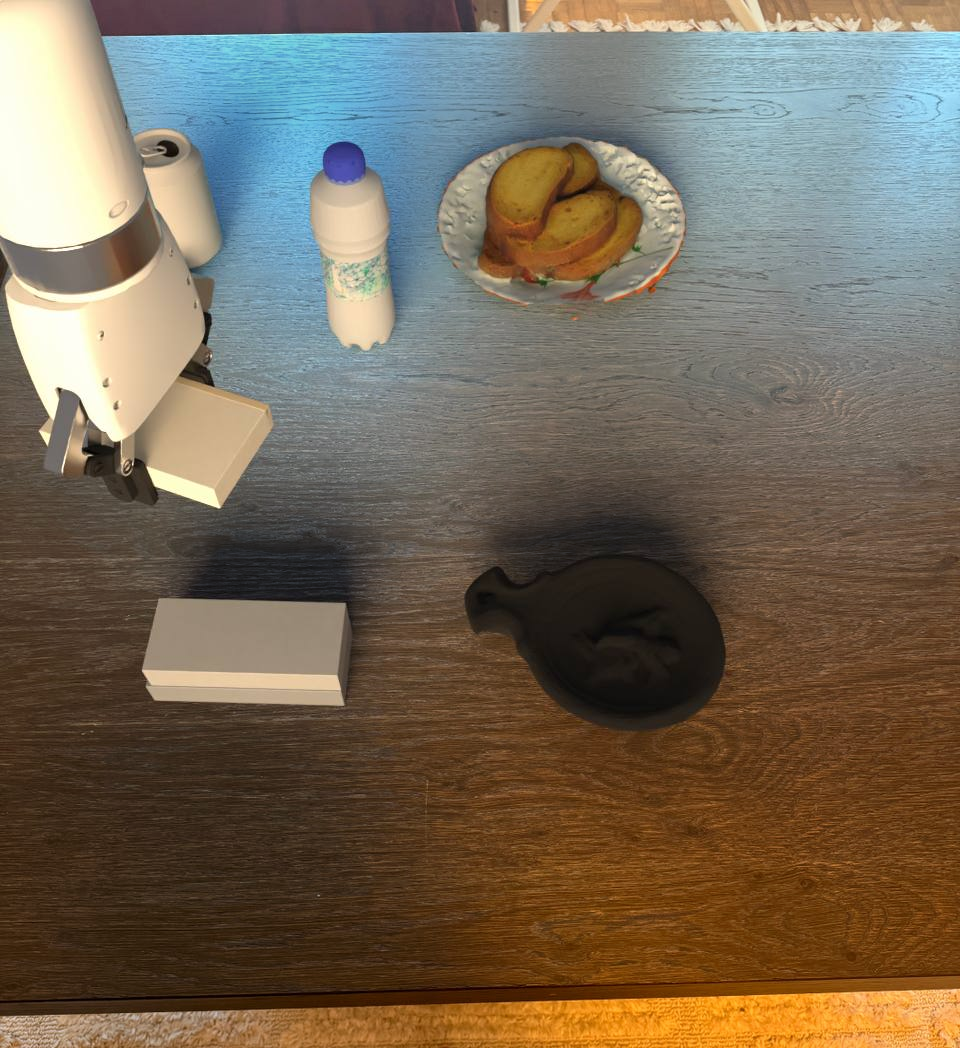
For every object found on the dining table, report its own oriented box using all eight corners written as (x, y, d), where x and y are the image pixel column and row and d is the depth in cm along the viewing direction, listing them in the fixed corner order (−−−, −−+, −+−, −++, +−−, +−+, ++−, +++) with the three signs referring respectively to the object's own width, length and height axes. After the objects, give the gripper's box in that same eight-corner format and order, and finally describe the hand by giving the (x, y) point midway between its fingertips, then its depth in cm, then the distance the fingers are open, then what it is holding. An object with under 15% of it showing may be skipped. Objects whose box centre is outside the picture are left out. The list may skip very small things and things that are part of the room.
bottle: (359, 298, 94) (336, 112, 78) (413, 327, 92) (402, 142, 76) (314, 338, 91) (280, 154, 75) (369, 369, 89) (347, 186, 73)
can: (237, 257, 97) (211, 153, 88) (168, 285, 95) (133, 181, 85) (205, 216, 101) (176, 112, 91) (137, 242, 98) (101, 138, 88)
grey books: (154, 700, 71) (135, 671, 67) (170, 628, 74) (153, 596, 70) (344, 706, 71) (337, 677, 67) (352, 633, 74) (346, 601, 70)
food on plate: (713, 302, 95) (728, 249, 89) (464, 337, 92) (464, 285, 86) (638, 146, 109) (647, 92, 103) (420, 171, 106) (417, 117, 100)
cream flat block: (49, 451, 60) (38, 430, 58) (112, 373, 64) (102, 351, 62) (220, 509, 58) (213, 489, 56) (274, 425, 62) (269, 404, 60)
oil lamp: (500, 536, 79) (502, 501, 75) (733, 611, 76) (749, 579, 71) (431, 692, 71) (429, 663, 67) (688, 785, 68) (702, 760, 64)
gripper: (111, 112, 52) (186, 343, 67) (-103, 325, 43) (38, 537, 58) (233, 145, 51) (282, 373, 66) (39, 371, 42) (147, 577, 57)
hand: (167, 449), depth 62 cm, fingers closed on cream flat block, 7 cm apart
